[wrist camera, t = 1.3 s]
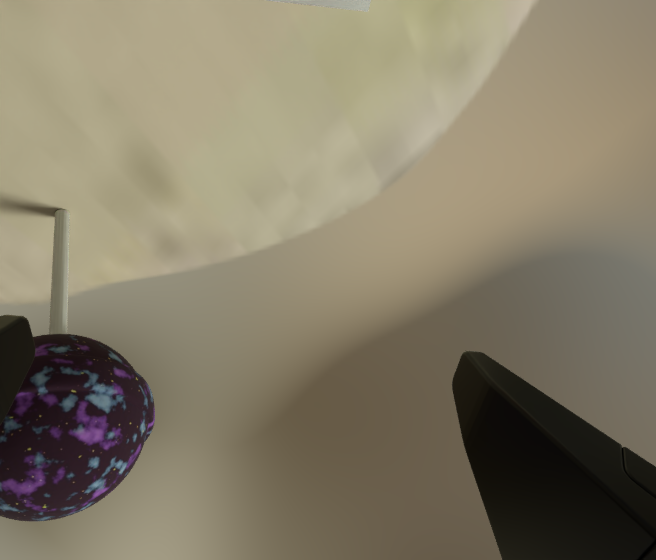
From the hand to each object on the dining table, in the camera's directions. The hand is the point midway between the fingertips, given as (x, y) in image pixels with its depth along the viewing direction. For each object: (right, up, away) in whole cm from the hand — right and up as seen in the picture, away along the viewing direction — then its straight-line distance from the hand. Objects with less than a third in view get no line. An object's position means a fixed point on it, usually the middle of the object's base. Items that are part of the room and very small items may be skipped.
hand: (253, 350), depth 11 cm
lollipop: (-12, +5, +15) cm, 20 cm away
